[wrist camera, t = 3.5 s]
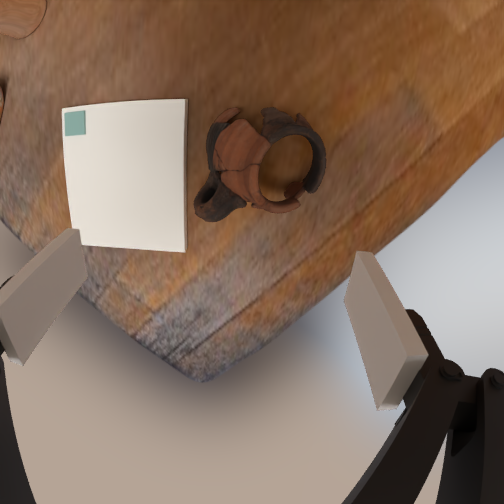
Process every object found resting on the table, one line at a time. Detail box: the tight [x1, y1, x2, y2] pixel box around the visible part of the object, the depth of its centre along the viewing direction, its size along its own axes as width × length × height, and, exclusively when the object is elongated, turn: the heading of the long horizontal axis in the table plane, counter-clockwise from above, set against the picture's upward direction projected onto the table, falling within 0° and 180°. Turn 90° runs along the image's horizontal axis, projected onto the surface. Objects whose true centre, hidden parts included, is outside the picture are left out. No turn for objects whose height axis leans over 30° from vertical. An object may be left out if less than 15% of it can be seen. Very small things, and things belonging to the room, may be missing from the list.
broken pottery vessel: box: [194, 107, 326, 222], centre depth 27 cm, size 12×10×8 cm
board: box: [62, 99, 188, 252], centre depth 29 cm, size 13×15×2 cm
